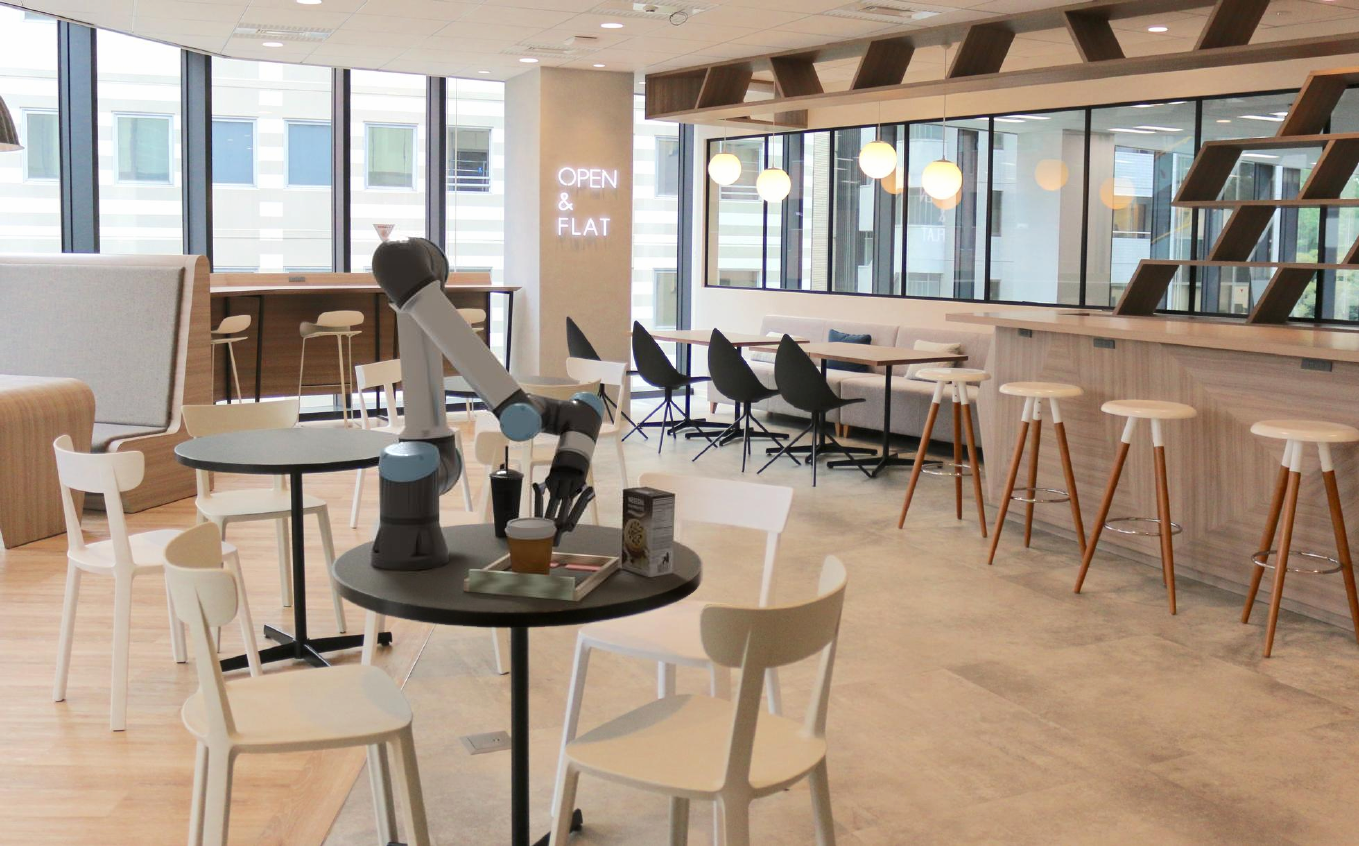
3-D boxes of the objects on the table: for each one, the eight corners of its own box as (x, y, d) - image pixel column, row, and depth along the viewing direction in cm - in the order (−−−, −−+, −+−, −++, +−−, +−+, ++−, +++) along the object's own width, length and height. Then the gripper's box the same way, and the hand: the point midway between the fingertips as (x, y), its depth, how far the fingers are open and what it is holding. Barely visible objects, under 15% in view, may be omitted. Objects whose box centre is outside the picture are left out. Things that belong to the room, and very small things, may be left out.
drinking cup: (530, 534, 264) (531, 445, 261) (508, 540, 257) (508, 449, 255) (504, 530, 268) (504, 442, 265) (481, 535, 261) (481, 446, 259)
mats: (516, 564, 236) (516, 563, 236) (523, 560, 240) (523, 559, 240) (603, 571, 232) (603, 570, 232) (608, 567, 236) (608, 566, 235)
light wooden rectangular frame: (463, 590, 216) (463, 569, 215) (515, 558, 241) (515, 539, 241) (578, 601, 211) (578, 579, 210) (619, 567, 236) (619, 547, 236)
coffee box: (619, 568, 235) (621, 488, 233) (644, 564, 239) (646, 485, 237) (649, 578, 228) (650, 495, 226) (674, 573, 232) (676, 492, 230)
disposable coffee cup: (558, 578, 225) (558, 517, 223) (554, 593, 216) (554, 529, 214) (508, 577, 225) (508, 516, 223) (501, 592, 216) (501, 528, 214)
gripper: (606, 472, 240) (580, 572, 226) (546, 468, 243) (516, 567, 229) (599, 450, 234) (572, 551, 220) (537, 446, 237) (506, 546, 223)
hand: (543, 559), depth 224 cm, fingers closed
